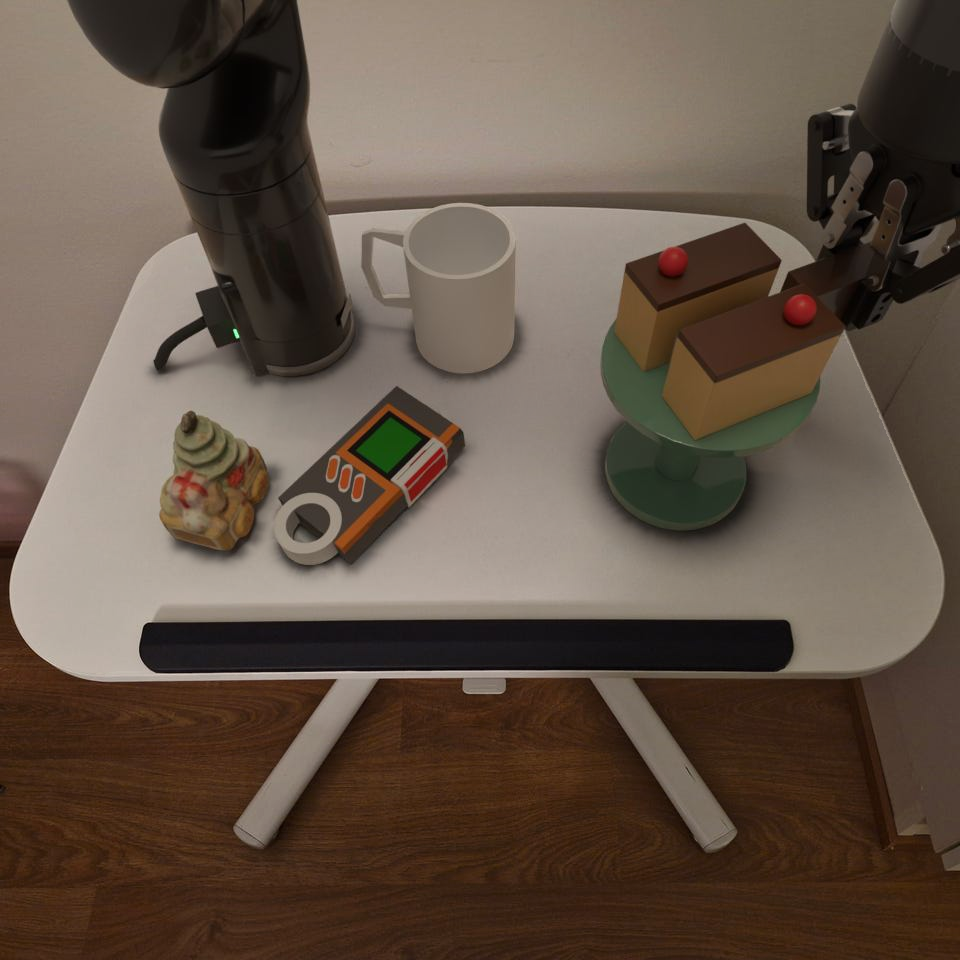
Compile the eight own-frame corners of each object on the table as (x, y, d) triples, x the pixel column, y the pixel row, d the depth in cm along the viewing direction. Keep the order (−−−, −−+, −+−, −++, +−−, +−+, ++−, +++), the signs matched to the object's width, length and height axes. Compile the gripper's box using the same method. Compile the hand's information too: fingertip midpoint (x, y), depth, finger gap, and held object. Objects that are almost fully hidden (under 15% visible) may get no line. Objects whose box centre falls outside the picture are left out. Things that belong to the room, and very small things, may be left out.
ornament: (248, 562, 54) (201, 484, 46) (163, 552, 55) (102, 474, 46) (279, 467, 59) (241, 380, 50) (201, 458, 59) (150, 372, 51)
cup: (386, 289, 68) (369, 192, 60) (521, 306, 67) (524, 209, 58) (360, 360, 64) (338, 265, 56) (504, 379, 63) (504, 285, 54)
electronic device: (250, 519, 53) (399, 379, 59) (263, 538, 56) (404, 402, 61) (319, 576, 51) (467, 424, 56) (329, 593, 53) (470, 446, 59)
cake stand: (641, 578, 53) (674, 482, 43) (553, 436, 59) (563, 325, 49) (801, 508, 55) (867, 402, 45) (700, 380, 62) (738, 262, 52)
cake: (694, 441, 44) (723, 357, 38) (613, 332, 49) (628, 243, 43) (811, 393, 46) (856, 306, 40) (722, 292, 50) (751, 201, 45)
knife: (859, 285, 50) (885, 235, 47) (884, 310, 49) (912, 260, 46) (657, 362, 47) (669, 314, 44) (678, 390, 46) (692, 343, 43)
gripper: (813, -28, 37) (725, 257, 52) (1038, 130, 30) (864, 408, 45) (938, -62, 39) (819, 224, 53) (1180, 80, 32) (967, 365, 46)
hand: (840, 307), depth 49 cm, fingers closed on knife, 2 cm apart
